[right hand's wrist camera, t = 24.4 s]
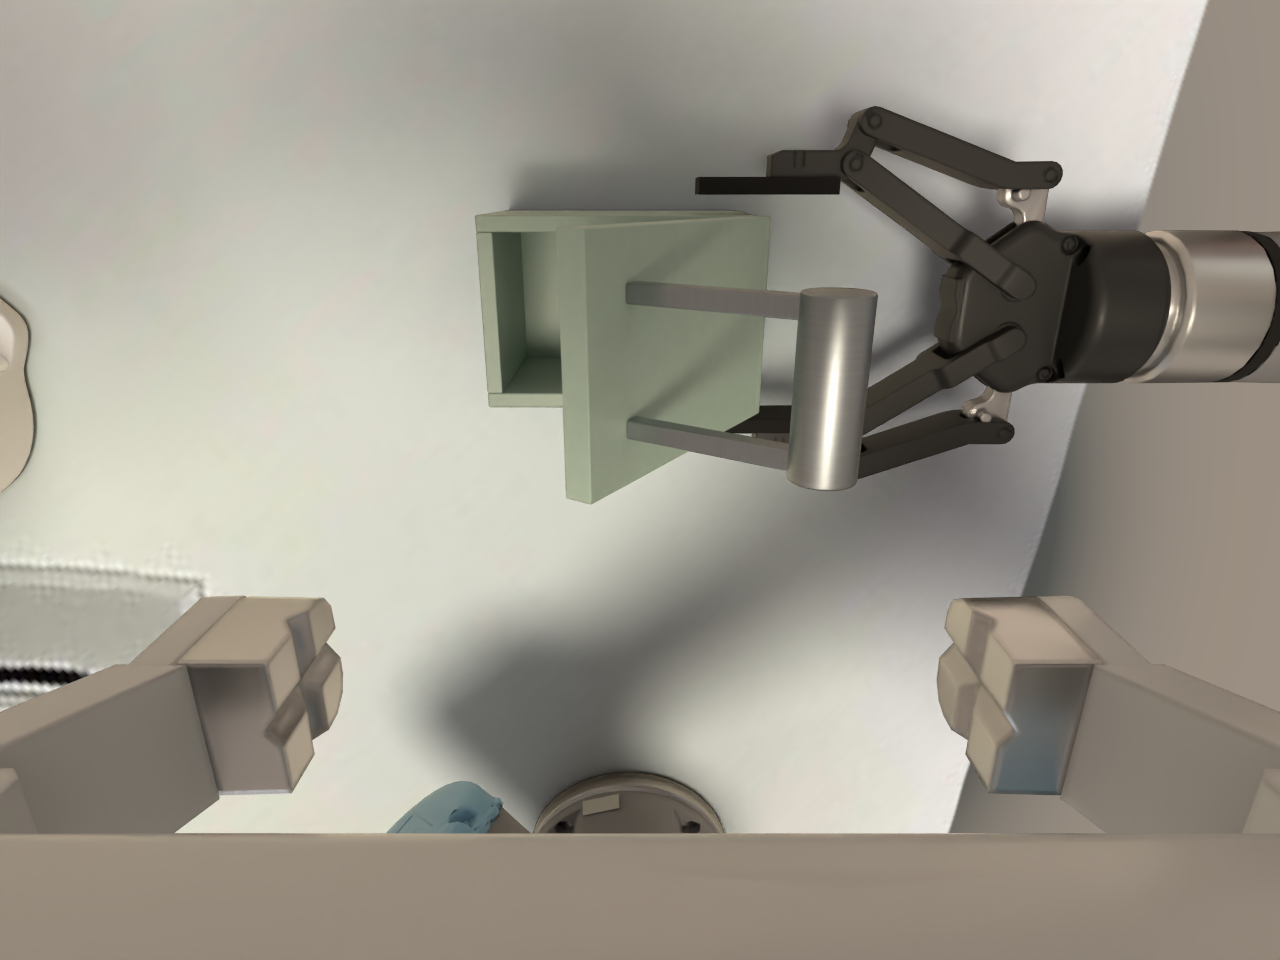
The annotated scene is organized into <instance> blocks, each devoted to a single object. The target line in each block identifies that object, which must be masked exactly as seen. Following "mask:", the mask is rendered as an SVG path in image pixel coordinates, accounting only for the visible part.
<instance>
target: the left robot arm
mask: <svg viewBox="0 0 1280 960" xmlns="http://www.w3.org/2000/svg"><path fill="white" fill-rule="evenodd" d="M847 127H848V129H847V131H846V133H845V136H844V138H843V140H842V142H841V144H840V145H839V146H838V147H837V148H836V149H834V150H782V151H779V152H776V153H774V154H771V155H769V156H767V169H766V177H698V178H696V180H695V194H699V195H722V194H839V192H840V181H842V182H843V183H844V184H846V185H847V186H848V187H850V188H851V189H852V190H854V191H855V192H856V193H858V194H859V195H860V196H862V197H863V198H864V199H866V200H867V201H868V202H870V203H871V204H872V205H874V206H875V207H876V208H878V209H879V210H880V211H882V212H883V213H885V214H886V215H887V216H889V217H890V218H891V219H893V220H894V221H895V222H897V223H898V224H899V225H901V226H902V227H903V228H905V229H906V230H907V231H909V232H910V233H911V234H913V235H914V236H915V237H917V238H918V239H919V240H921V241H922V242H923V243H925V244H926V245H927V246H929V247H930V248H931V250H932V251H933V252H934V253H936V254H937V255H938V256H940V257H941V258H942V259H944V260H945V261H946V262H948V263H949V264H950V265H951V267H950V268H949V270H948V272H947V274H946V275H942V279H941V286H940V295H941V303H942V306H941V309H940V312H939V314H938V317H937V319H936V322H935V330H934V336H935V337H937V339H938V343H937V344H935V345H933V346H932V347H930V348H928V349H927V350H925V351H923V352H922V353H920V354H919V355H918V356H917V358H916V360H914V361H913V362H911V363H910V364H908V365H906V366H905V367H903V368H901V369H900V370H898V371H896V372H895V373H893V374H891V375H889V376H888V377H886V378H884V379H883V380H881V381H879V382H878V383H876V384H874V385H873V386H871V387H869V388H868V389H867V397H866V406H865V415H864V424H863V433H862V436H863V435H865V434H866V433H868V432H870V431H871V430H873V429H875V428H877V427H878V426H880V425H882V424H883V423H885V422H887V421H889V420H890V419H892V418H894V417H895V416H897V415H899V414H901V413H902V412H904V411H906V410H907V409H909V408H911V407H913V406H914V405H916V404H918V403H919V402H921V401H923V400H924V399H926V398H928V397H930V396H931V395H933V394H935V393H936V392H938V391H940V390H942V389H948V388H952V387H954V386H956V385H958V384H960V383H962V382H963V381H965V380H967V379H968V378H970V377H972V376H974V377H975V378H976V379H978V380H979V381H980V382H981V383H983V384H984V385H985V386H986V390H985V392H984V393H983V394H982V395H981V396H980V397H978V398H975V399H971V400H969V401H967V402H965V403H964V404H963V409H962V410H951V411H946V412H942V413H938V414H935V415H932V416H929V417H926V418H923V419H920V420H917V421H914V422H910V423H907V424H904V425H901V426H898V427H895V428H892V429H889V430H886V431H883V432H880V433H876V434H873V435H870V436H867V437H864V438H862V442H861V451H860V460H859V469H858V478H857V479H860V478H863V477H867V476H870V475H873V474H876V473H879V472H882V471H885V470H889V469H892V468H895V467H898V466H901V465H904V464H907V463H911V462H914V461H917V460H920V459H923V458H926V457H929V456H933V455H936V454H939V453H942V452H945V451H948V450H952V449H955V448H958V447H961V446H964V445H967V444H1005V443H1007V442H1009V441H1010V440H1011V439H1012V438H1013V436H1014V433H1015V430H1014V427H1013V425H1011V424H1010V423H1009V422H1007V417H1008V412H1009V406H1010V401H1011V396H1012V392H1014V391H1016V390H1018V389H1020V388H1022V387H1024V386H1027V385H1030V384H1034V383H1117V382H1120V381H1123V380H1124V381H1126V382H1128V383H1195V382H1196V383H1197V382H1258V383H1280V232H1249V231H1184V230H1183V231H1182V230H1178V231H1177V230H1176V231H1175V230H1159V231H1149V232H1146V233H1142V232H1139V231H1061V230H1056V229H1054V228H1052V227H1050V226H1049V225H1047V224H1046V223H1044V222H1043V220H1044V214H1045V209H1046V203H1047V197H1048V191H1049V189H1051V188H1053V187H1055V186H1056V185H1058V183H1059V182H1060V181H1061V178H1062V175H1063V170H1062V167H1061V165H1060V164H1058V163H1057V162H1053V161H1033V162H1015V161H1012V160H1010V159H1008V158H1005V157H1003V156H1000V155H998V154H995V153H993V152H990V151H988V150H985V149H983V148H980V147H978V146H975V145H973V144H970V143H968V142H966V141H963V140H961V139H958V138H956V137H953V136H951V135H948V134H946V133H943V132H941V131H938V130H936V129H933V128H931V127H928V126H926V125H924V124H921V123H919V122H916V121H914V120H911V119H909V118H906V117H904V116H901V115H899V114H896V113H894V112H891V111H889V110H886V109H884V108H882V107H877V106H874V107H870V108H867V109H864V110H862V111H859V112H856V113H855V114H853V115H852V116H851V117H850V119H849V121H848V125H847ZM875 146H876V147H878V148H881V149H883V150H886V151H888V152H891V153H893V154H896V155H898V156H901V157H903V158H906V159H908V160H911V161H913V162H916V163H918V164H921V165H923V166H926V167H928V168H931V169H933V170H936V171H938V172H941V173H944V174H946V175H949V176H951V177H954V178H956V179H959V180H961V181H964V182H966V183H969V184H971V185H974V186H977V187H980V188H986V189H996V190H997V193H996V198H997V202H998V203H999V204H1000V205H1001V206H1003V207H1007V208H1009V209H1011V210H1012V212H1013V213H1014V222H1012V223H1010V224H1009V225H1007V226H1006V227H1004V228H1003V229H1001V230H1000V231H998V232H997V233H995V234H994V235H993V236H991V237H990V238H988V239H987V240H985V241H984V240H983V239H981V238H980V237H979V236H977V235H976V234H974V233H973V232H970V231H968V230H966V229H965V228H963V227H962V226H961V225H959V224H958V223H957V222H955V221H954V220H953V219H952V218H950V217H949V216H948V215H946V214H945V213H944V212H942V211H941V210H940V209H938V208H937V207H936V206H934V205H933V204H932V203H930V202H929V201H928V200H927V199H925V198H924V197H923V196H921V195H920V194H919V193H917V192H916V191H915V190H913V189H912V188H911V187H909V186H908V185H907V184H905V183H904V182H903V181H902V180H900V179H899V178H898V177H896V176H895V175H894V174H892V173H891V172H890V171H888V170H887V169H886V168H884V167H883V166H882V165H881V164H879V163H878V162H877V161H875V160H874V159H873V158H871V157H870V156H871V153H872V151H873V149H874V147H875ZM791 410H792V405H771V406H759V413H758V414H756V415H754V416H752V417H750V418H748V419H747V420H745V421H743V422H741V423H739V424H737V425H736V426H734V427H732V428H730V429H728V430H726V431H725V432H728V433H752V437H755V438H760V439H766V440H771V441H777V442H782V443H788V444H789V437H790V423H791ZM502 805H503V802H502V801H501V799H500V798H493V797H492V796H491V795H489V794H488V793H487V792H486V791H484V790H483V789H482V788H481V787H479V786H478V785H476V784H474V783H472V782H465V781H460V782H454V783H451V784H448V785H446V786H443V787H441V788H439V789H438V790H436V791H434V792H433V793H431V794H430V795H428V796H427V797H425V798H424V799H423V800H422V801H420V802H419V803H418V804H417V805H415V806H414V807H413V808H412V809H410V810H409V811H408V812H407V813H406V814H405V815H404V816H403V817H402V818H401V819H400V820H399V821H397V823H396V824H395V825H394V826H393V827H392V828H391V829H390V830H389V831H388V832H387V833H530V832H529V831H528V830H527V829H525V828H524V827H523V826H522V825H521V824H520V823H519V822H518V821H516V820H515V819H514V818H513V817H512V816H511V815H510V814H509V813H508V812H507V811H506V810H505V809H504V808H503V807H502ZM534 833H723V829H722V826H721V824H720V822H719V820H718V818H717V816H716V814H715V813H714V811H713V810H712V809H711V807H710V806H709V805H708V804H707V803H706V802H705V801H704V800H703V799H702V798H701V797H700V796H698V795H697V794H696V793H694V792H693V791H692V790H690V789H688V788H687V787H685V786H683V785H681V784H679V783H677V782H674V781H672V780H669V779H666V778H663V777H659V776H655V775H650V774H643V773H613V774H606V775H601V776H597V777H594V778H590V779H587V780H585V781H582V782H580V783H578V784H576V785H573V786H572V787H570V788H568V789H567V790H565V791H563V792H562V793H561V794H559V795H558V796H557V797H556V798H555V799H554V800H552V801H551V802H550V804H549V805H548V806H547V807H546V808H545V810H544V811H543V812H542V814H541V815H540V817H539V819H538V821H537V823H536V826H535V829H534Z"/></svg>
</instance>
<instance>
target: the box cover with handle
mask: <svg viewBox="0 0 1280 960" xmlns="http://www.w3.org/2000/svg"><path fill="white" fill-rule="evenodd" d="M770 219H771V217H770V216H739V217H722V218H705V219H688V220H671V221H654V222H637V223H620V224H604V225H587V226H570V227H558V228H557V229H556V231H557V258H558V286H559V313H560V341H561V368H562V396H563V424H564V451H565V479H566V498H568V499H572V500H575V501H579V502H583V503H587V504H593V503H595V502H597V501H598V500H600V499H602V498H604V497H606V496H607V495H609V494H611V493H613V492H615V491H617V490H618V489H620V488H622V487H624V486H626V485H628V484H629V483H631V482H633V481H635V480H637V479H639V478H640V477H642V476H644V475H646V474H648V473H650V472H651V471H653V470H655V469H657V468H659V467H661V466H662V465H664V464H666V463H668V462H670V461H672V460H673V459H675V458H677V457H679V456H681V455H683V454H684V453H686V452H688V451H691V452H696V453H701V454H706V455H711V456H716V457H721V458H726V459H731V460H736V461H741V462H745V463H750V464H755V465H760V466H765V467H770V468H775V469H780V470H785V471H787V478H788V480H789V481H791V482H792V483H794V484H796V485H798V486H801V487H804V488H808V489H813V490H820V491H838V490H844V489H848V488H851V487H853V486H854V485H855V484H856V483H857V478H858V469H859V460H860V451H861V442H862V433H863V424H864V415H865V406H866V397H867V388H868V379H869V370H870V361H871V352H872V343H873V334H874V325H875V316H876V307H877V298H878V295H877V293H876V292H873V291H870V290H864V289H855V288H834V287H827V288H810V289H805V290H802V291H801V293H795V292H781V291H768V290H766V286H767V270H768V253H769V236H770ZM765 317H771V318H782V319H793V320H798V331H797V344H796V357H795V370H794V384H793V397H792V410H791V423H790V437H789V444H788V443H782V442H777V441H771V440H766V439H760V438H755V437H749V436H744V435H738V434H733V433H728V432H725V431H726V430H728V429H730V428H732V427H734V426H736V425H737V424H739V423H741V422H743V421H745V420H747V419H748V418H750V417H752V416H754V415H756V414H758V413H759V404H760V387H761V370H762V354H763V337H764V320H765Z"/></svg>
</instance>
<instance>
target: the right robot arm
mask: <svg viewBox="0 0 1280 960" xmlns="http://www.w3.org/2000/svg"><path fill="white" fill-rule="evenodd" d="M27 349H28V329H27V326H26V323H25V322H24V320H23V318H22V317H21V316H20V315H19V314H18V313H17V312H16V311H15V310H14V309H12V308H11V307H10V306H9V305H8V304H6V303H5V302H4V301H3V300H1V299H0V492H1V491H3V490H4V489H5V488H7V487H8V486H9V485H10V484H11V483H12V482H13V481H14V480H15V479H16V478H17V477H18V475H19V474H20V472H21V471H22V469H23V468H24V466H25V464H26V462H27V460H28V457H29V454H30V451H31V447H32V442H33V431H34V424H33V412H32V407H31V402H30V398H29V394H28V390H27V386H26V382H25V377H24V365H25V360H26V355H27ZM334 630H335V623H334V618H333V613H332V608H331V605H330V604H329V603H328V602H327V601H326V600H325V599H324V598H301V597H246V596H215V597H205V598H201V599H200V600H199V601H198V602H197V603H195V604H194V605H193V606H192V607H191V608H190V609H189V610H188V611H187V612H186V613H184V614H183V615H182V616H181V617H180V618H179V619H178V620H177V621H176V622H175V623H174V624H172V625H171V626H170V627H169V628H168V629H167V630H166V631H165V632H164V633H163V634H161V635H160V636H159V637H158V638H157V639H156V640H155V641H154V642H153V643H152V644H150V645H149V646H148V647H147V648H146V649H145V650H144V651H143V652H142V653H141V654H140V655H138V656H137V657H136V658H135V659H134V660H133V661H132V662H131V663H130V664H129V665H113V666H111V667H109V668H106V669H104V670H101V671H99V672H96V673H94V674H92V675H89V676H87V677H84V678H82V679H79V680H77V681H74V682H72V683H70V684H67V685H65V686H62V687H60V688H57V689H55V690H53V691H50V692H48V693H45V694H43V695H40V696H38V697H35V698H33V699H31V700H28V701H26V702H23V703H21V704H18V705H16V706H14V707H11V708H9V709H6V710H4V711H1V712H0V960H1280V712H1278V711H1276V710H1273V709H1271V708H1269V707H1266V706H1264V705H1261V704H1259V703H1256V702H1254V701H1252V700H1249V699H1247V698H1244V697H1242V696H1239V695H1237V694H1234V693H1232V692H1230V691H1227V690H1225V689H1222V688H1220V687H1218V686H1215V685H1213V684H1210V683H1208V682H1205V681H1203V680H1201V679H1198V678H1196V677H1193V676H1191V675H1188V674H1186V673H1183V672H1181V671H1179V670H1176V669H1174V668H1171V667H1169V666H1166V665H1151V664H1150V663H1149V662H1148V661H1147V660H1146V659H1145V658H1144V657H1143V656H1142V655H1141V654H1139V653H1138V652H1137V651H1136V650H1135V649H1134V648H1133V647H1132V646H1131V645H1130V644H1128V643H1127V642H1126V641H1125V640H1124V639H1123V638H1122V637H1121V636H1120V635H1119V634H1118V633H1116V632H1115V631H1114V630H1113V629H1112V628H1111V627H1110V626H1109V625H1108V624H1107V623H1106V622H1104V621H1103V620H1102V619H1101V618H1100V617H1099V616H1098V615H1097V614H1096V613H1095V612H1094V611H1092V610H1091V609H1090V608H1089V607H1088V606H1087V605H1086V604H1085V603H1084V602H1083V601H1082V600H1080V599H1079V598H1075V597H1072V596H1047V597H997V598H961V599H954V600H952V603H951V605H950V607H949V609H948V611H947V617H946V622H945V630H946V631H947V633H948V634H949V636H950V637H951V639H952V641H953V642H954V643H953V644H952V645H951V646H950V647H949V648H948V649H947V650H946V651H945V652H944V653H943V654H942V655H941V657H940V658H939V666H938V674H937V688H938V698H939V703H940V706H941V709H942V712H943V716H944V717H945V719H946V721H947V723H948V725H949V726H950V728H951V730H953V731H954V732H956V733H958V734H959V735H961V736H962V737H964V738H965V739H967V740H968V742H967V748H966V753H965V754H966V756H967V758H968V759H969V761H970V763H971V764H972V766H973V768H974V770H975V771H976V773H977V775H978V776H979V778H980V780H981V781H982V783H983V785H984V786H985V788H986V790H987V792H988V793H996V794H1033V795H1061V797H1060V798H1061V799H1062V800H1063V801H1064V802H1066V803H1067V804H1068V805H1070V806H1071V807H1072V808H1074V809H1075V810H1076V811H1078V812H1079V813H1080V814H1082V815H1083V816H1084V817H1086V818H1087V819H1088V820H1090V821H1091V822H1092V823H1094V824H1095V825H1096V826H1098V827H1099V828H1100V829H1102V830H1103V831H1104V832H1106V833H175V832H176V831H177V830H179V829H180V828H181V827H183V826H184V825H185V824H187V823H188V822H189V821H191V820H192V819H193V818H195V817H196V816H197V815H199V814H200V813H201V812H203V811H204V810H205V809H207V808H208V807H209V806H211V805H212V804H213V803H215V802H216V801H217V800H219V795H247V794H282V793H292V792H293V790H294V788H295V787H296V785H297V783H298V782H299V780H300V778H301V776H302V775H303V773H304V771H305V770H306V768H307V766H308V764H309V763H310V761H311V759H312V758H313V756H314V754H315V753H314V748H313V742H312V740H313V739H315V738H316V737H318V736H319V735H321V734H322V733H324V732H326V731H327V730H329V728H330V726H331V725H332V723H333V721H334V719H335V717H336V715H337V713H338V709H339V705H340V701H341V697H342V693H343V671H342V665H341V658H340V657H339V655H338V654H337V653H336V652H335V651H334V650H333V649H332V648H331V647H330V646H329V645H328V644H327V643H326V642H327V641H328V639H329V637H330V636H331V634H332V633H333V631H334Z"/></svg>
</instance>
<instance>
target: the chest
mask: <svg viewBox="0 0 1280 960" xmlns="http://www.w3.org/2000/svg"><path fill="white" fill-rule="evenodd" d="M739 216H755V215H751V214H746V213H741V212H737V211H734V210H506V211H501V212H495V213H488V214H481V215H476V216H475V222H476V231H477V233H476V237H477V250H478V264H479V278H480V292H481V306H482V319H483V333H484V347H485V361H486V375H487V388H488V400H489V407H563V396H562V368H561V341H560V313H559V286H558V258H557V231H556V229H557V228H558V227H570V226H587V225H604V224H620V223H637V222H654V221H671V220H688V219H705V218H722V217H739Z"/></svg>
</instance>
